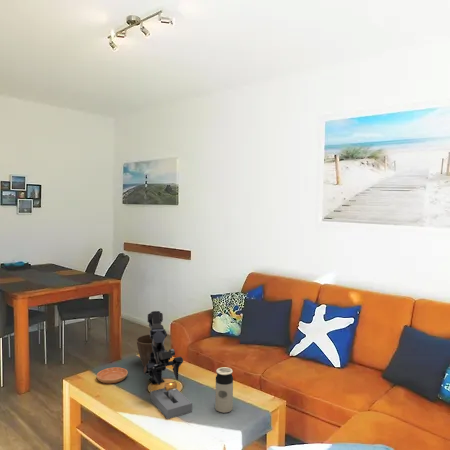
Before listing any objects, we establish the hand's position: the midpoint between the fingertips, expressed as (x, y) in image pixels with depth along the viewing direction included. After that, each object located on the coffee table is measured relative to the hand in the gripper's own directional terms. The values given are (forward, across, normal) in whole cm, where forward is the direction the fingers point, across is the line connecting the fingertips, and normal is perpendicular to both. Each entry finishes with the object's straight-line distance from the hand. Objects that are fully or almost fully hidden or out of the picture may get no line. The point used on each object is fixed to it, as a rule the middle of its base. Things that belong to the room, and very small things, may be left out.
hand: (168, 382), depth 186 cm
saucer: (-21, -15, +36) cm, 44 cm away
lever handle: (+8, 0, +5) cm, 9 cm away
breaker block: (+9, 0, +6) cm, 11 cm away
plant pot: (-24, +8, +39) cm, 47 cm away
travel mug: (+20, +20, -5) cm, 28 cm away
